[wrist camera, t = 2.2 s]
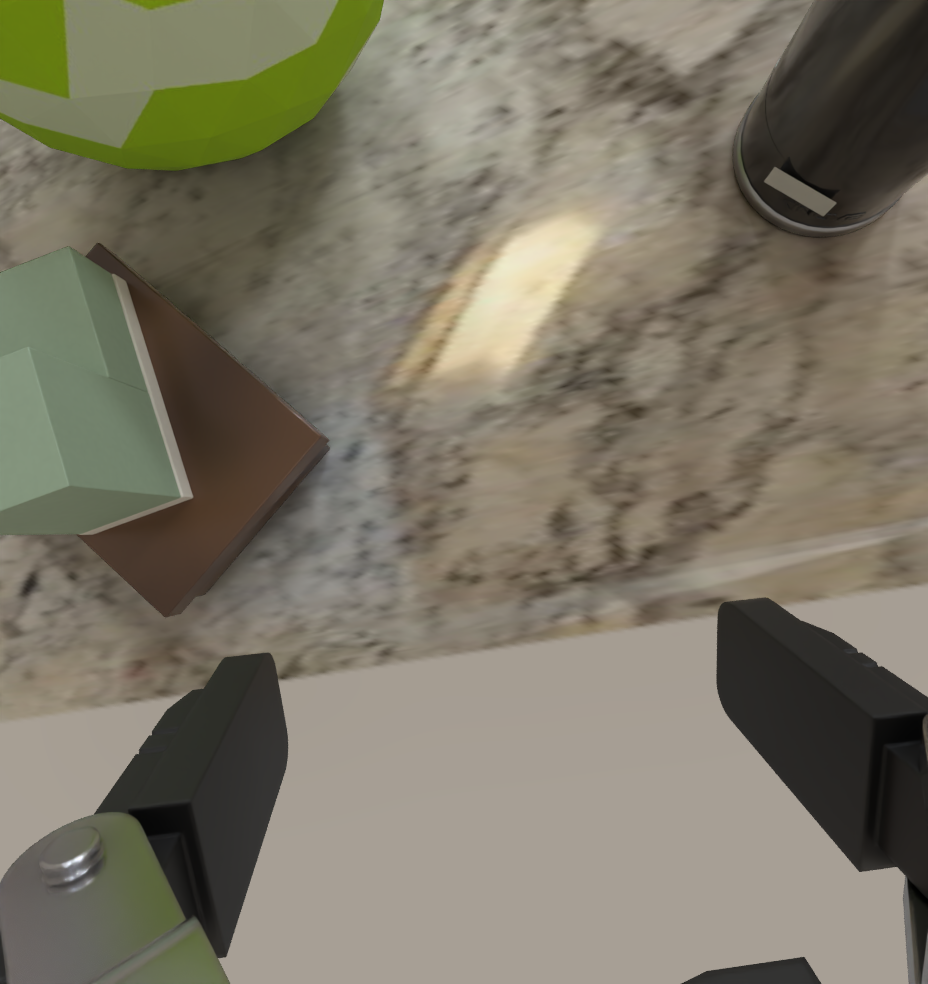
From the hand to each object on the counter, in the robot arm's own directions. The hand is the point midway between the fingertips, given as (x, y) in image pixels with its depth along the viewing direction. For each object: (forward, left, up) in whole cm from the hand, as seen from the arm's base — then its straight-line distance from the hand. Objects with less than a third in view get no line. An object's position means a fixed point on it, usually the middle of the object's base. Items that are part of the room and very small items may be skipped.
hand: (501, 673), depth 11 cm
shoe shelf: (-3, -20, -22) cm, 30 cm away
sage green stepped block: (-4, -22, -18) cm, 29 cm away
